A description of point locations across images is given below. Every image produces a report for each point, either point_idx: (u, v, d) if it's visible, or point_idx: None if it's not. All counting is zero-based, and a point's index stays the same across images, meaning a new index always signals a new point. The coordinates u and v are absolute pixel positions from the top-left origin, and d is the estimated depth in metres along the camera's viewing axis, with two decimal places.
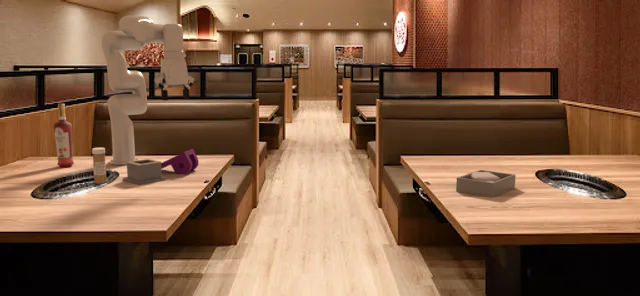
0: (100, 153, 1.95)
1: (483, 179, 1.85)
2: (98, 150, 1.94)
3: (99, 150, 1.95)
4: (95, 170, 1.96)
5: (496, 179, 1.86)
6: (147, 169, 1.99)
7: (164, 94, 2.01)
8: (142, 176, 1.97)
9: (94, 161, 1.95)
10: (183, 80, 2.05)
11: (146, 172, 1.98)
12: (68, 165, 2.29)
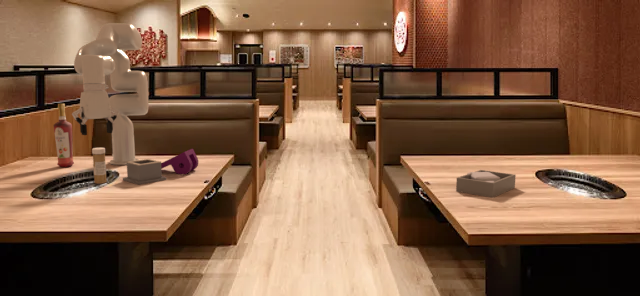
0: (100, 153, 1.95)
1: (483, 179, 1.85)
2: (98, 150, 1.94)
3: (99, 150, 1.95)
4: (95, 170, 1.96)
5: (496, 179, 1.86)
6: (147, 169, 1.99)
7: (83, 129, 1.90)
8: (142, 176, 1.97)
9: (94, 161, 1.95)
10: (105, 113, 1.94)
11: (146, 172, 1.98)
12: (68, 165, 2.29)
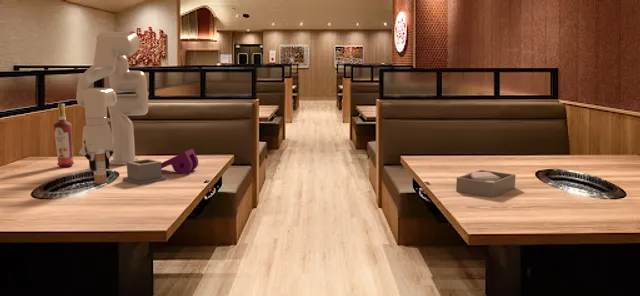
0: (100, 153, 1.95)
1: (483, 179, 1.85)
2: None
3: (99, 150, 1.95)
4: None
5: (496, 178, 1.86)
6: (147, 169, 1.99)
7: (92, 165, 1.94)
8: (142, 176, 1.97)
9: None
10: (107, 146, 1.97)
11: (146, 172, 1.98)
12: (68, 165, 2.29)
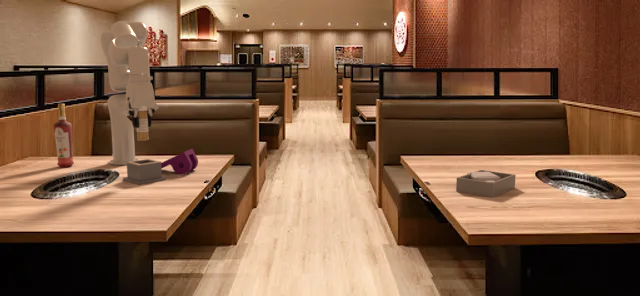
0: (143, 110, 1.97)
1: (483, 178, 1.85)
2: (141, 107, 1.97)
3: (142, 107, 1.97)
4: None
5: (496, 178, 1.86)
6: (147, 169, 1.99)
7: (135, 121, 1.97)
8: (142, 176, 1.97)
9: None
10: (149, 104, 1.99)
11: (146, 172, 1.98)
12: (68, 165, 2.29)
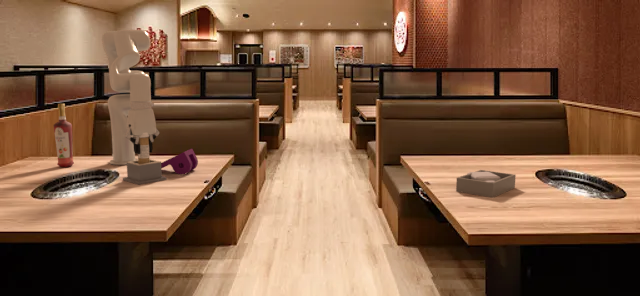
0: (144, 137, 1.99)
1: (483, 178, 1.85)
2: (142, 134, 1.99)
3: (143, 134, 1.99)
4: None
5: (496, 178, 1.86)
6: (147, 169, 1.99)
7: (136, 148, 1.99)
8: (142, 176, 1.97)
9: None
10: (151, 130, 2.01)
11: (146, 172, 1.98)
12: (68, 165, 2.29)
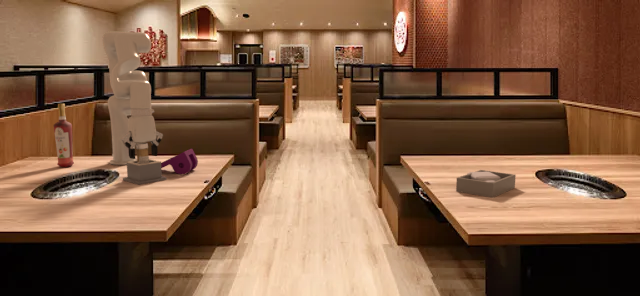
0: (144, 148, 2.00)
1: (483, 178, 1.85)
2: (142, 145, 2.00)
3: (143, 145, 2.00)
4: None
5: (496, 178, 1.86)
6: (147, 169, 1.99)
7: (131, 153, 1.97)
8: (142, 176, 1.97)
9: (138, 156, 2.00)
10: (151, 137, 2.01)
11: (146, 172, 1.98)
12: (68, 165, 2.29)
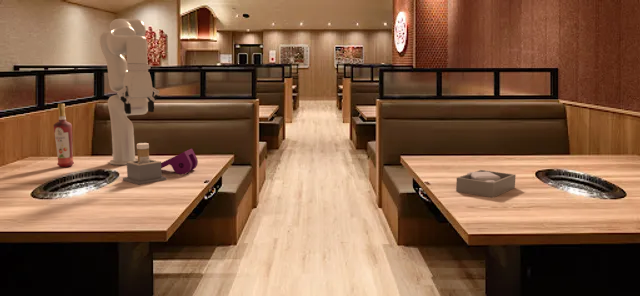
0: (144, 148, 2.00)
1: (483, 178, 1.85)
2: (143, 145, 2.00)
3: (144, 145, 2.00)
4: None
5: (496, 178, 1.86)
6: (147, 169, 1.99)
7: (127, 107, 1.97)
8: (142, 176, 1.97)
9: (139, 156, 2.00)
10: (147, 93, 2.01)
11: (146, 172, 1.98)
12: (68, 165, 2.29)
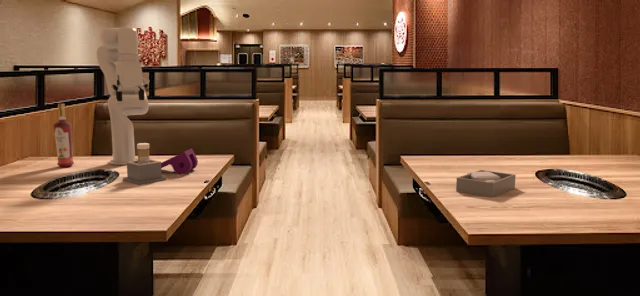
0: (145, 148, 2.00)
1: (483, 178, 1.85)
2: (143, 145, 2.00)
3: (144, 145, 2.00)
4: None
5: (496, 178, 1.86)
6: (147, 169, 1.99)
7: (118, 95, 2.09)
8: (142, 176, 1.97)
9: (139, 156, 2.00)
10: (138, 82, 2.13)
11: (146, 172, 1.98)
12: (68, 165, 2.29)
